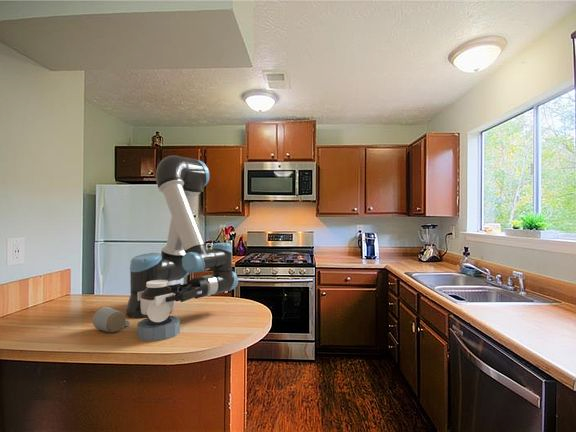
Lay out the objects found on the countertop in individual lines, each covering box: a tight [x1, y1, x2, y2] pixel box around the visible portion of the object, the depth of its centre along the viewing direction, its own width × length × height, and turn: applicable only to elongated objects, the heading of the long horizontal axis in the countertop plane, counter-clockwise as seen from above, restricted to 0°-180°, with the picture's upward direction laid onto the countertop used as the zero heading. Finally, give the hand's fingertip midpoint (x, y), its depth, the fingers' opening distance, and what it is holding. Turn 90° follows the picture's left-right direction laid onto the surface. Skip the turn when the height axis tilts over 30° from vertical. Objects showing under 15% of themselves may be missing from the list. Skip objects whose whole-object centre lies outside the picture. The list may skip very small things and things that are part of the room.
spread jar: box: [141, 280, 175, 322], centre depth 110 cm, size 12×11×12 cm
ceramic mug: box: [92, 306, 131, 334], centre depth 116 cm, size 11×8×8 cm
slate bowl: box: [136, 315, 181, 342], centre depth 111 cm, size 13×13×4 cm
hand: (146, 298), depth 108 cm, fingers closed on spread jar, 10 cm apart
